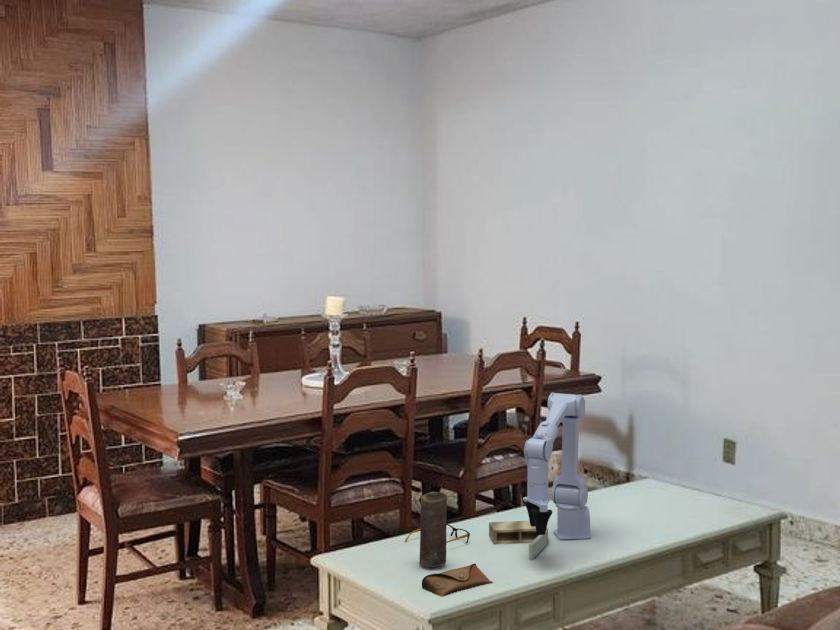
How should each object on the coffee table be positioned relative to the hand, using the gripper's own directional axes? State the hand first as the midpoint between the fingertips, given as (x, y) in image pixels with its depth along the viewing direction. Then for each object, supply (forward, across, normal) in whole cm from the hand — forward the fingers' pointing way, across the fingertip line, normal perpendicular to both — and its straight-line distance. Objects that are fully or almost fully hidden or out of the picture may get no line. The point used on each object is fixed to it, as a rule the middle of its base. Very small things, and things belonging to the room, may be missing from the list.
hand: (537, 530), depth 271 cm
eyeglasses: (+10, -21, -25) cm, 34 cm away
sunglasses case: (+10, +13, -24) cm, 29 cm away
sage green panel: (+9, -10, +3) cm, 14 cm away
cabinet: (+9, -22, -1) cm, 24 cm away
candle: (+10, -2, -29) cm, 30 cm away
